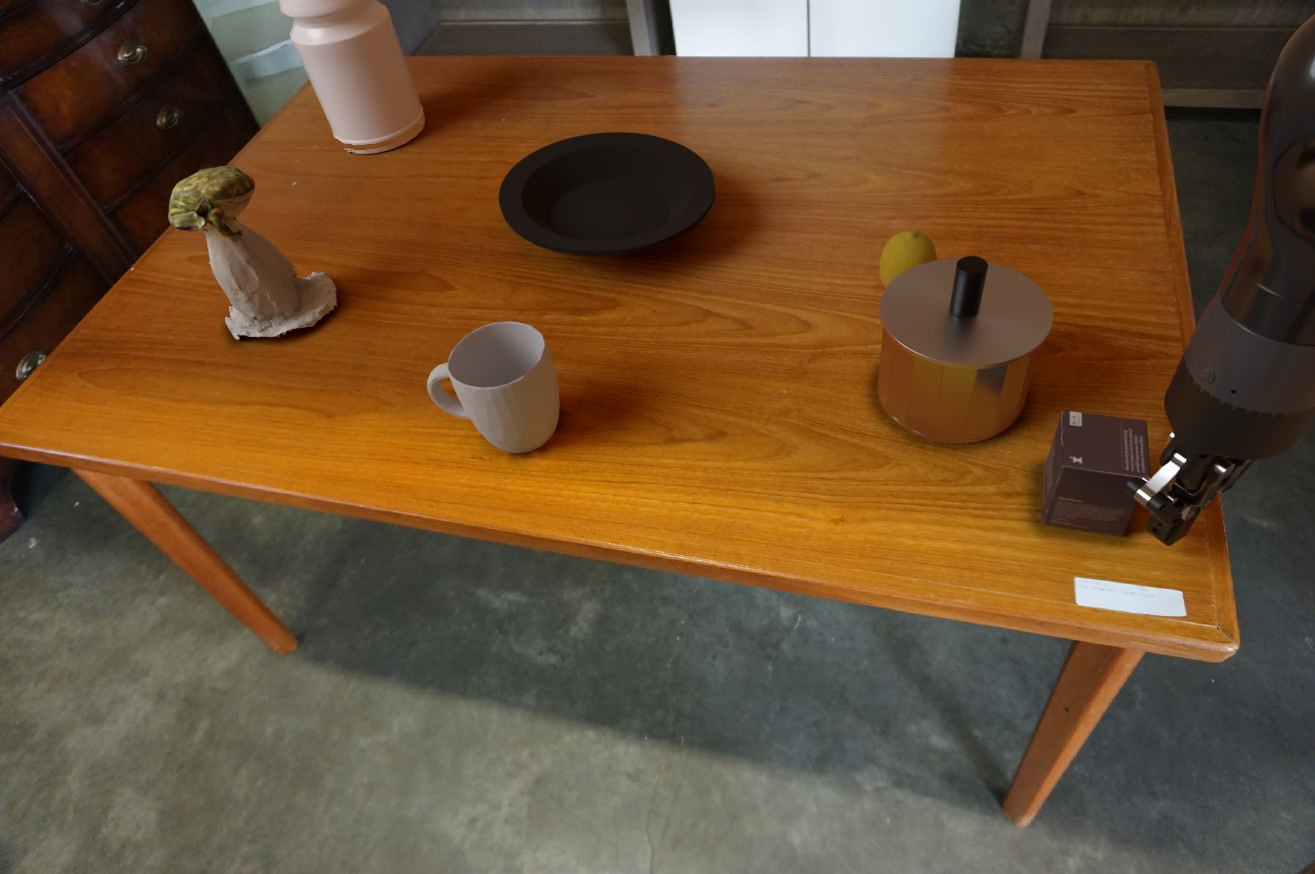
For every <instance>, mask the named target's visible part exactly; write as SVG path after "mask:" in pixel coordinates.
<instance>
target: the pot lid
mask: <svg viewBox="0 0 1315 874" xmlns="http://www.w3.org/2000/svg"><path fill="white" fill-rule="evenodd" d="M878 308H879V310H878V315H879V320H880V323H881V326H882V329H883V328H884V330H885V332H886V333H887V335H888V336H889V337H890V338H891V339H892V341H893V342H895V343H896V344H897V345H898V346H899V347H900V348H902V349H903V350H905V351H906V352H908V353H909V354H911V355H913V356H915V357H917V358H919V359H922V360H924V361H926V362H930V363H933V364H936V365H940V366H945V367H949V368H957V369H988V368H996V367H1000V366H1004V365H1008V364H1011V363H1014V362H1017V361H1019V360H1021V359H1023V358H1025V357H1027V356H1029V355H1030V354H1032V353H1033V352H1035V351H1036V350H1037V349H1038V348H1039V347H1040V346H1041V347H1042V345H1043V344H1044V343H1045V342H1046V340H1047V339H1048V337H1049V335H1050V333H1051V330H1052V327H1053V323H1054V309H1053V306H1052V304H1051V301H1050V299H1049V297H1048V295H1047V294H1046V292H1044V289H1042V288H1041V287H1040V285H1038V284H1037V283H1036V282H1035V281H1034V280H1032V279H1031V278H1030V277H1028V276H1027V275H1025V274H1023V273H1021V272H1019V271H1018V270H1015V269H1013V268H1011V267H1009V266H1005V265H1003V264H1000V263H995V262H991V261H987V260H986V259H984V258H983V257H980V256H978V255H977V256H976V255H967V256H963V257H961V258H944V259H937V261H932V262H928V263H924V264H921V265H918V266H915V267H913V268H911V269H908V270H907V271H905V272H903V273H901V274H900V275H899V276H897V277H896V278H895V279H894V280H893V281H892V282H891V283H890V284H889V285H888V286H887V288H885V289H884V291H883V293H882V295H881V296H880V301H879V307H878ZM1041 347H1040V348H1041Z"/></svg>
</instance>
